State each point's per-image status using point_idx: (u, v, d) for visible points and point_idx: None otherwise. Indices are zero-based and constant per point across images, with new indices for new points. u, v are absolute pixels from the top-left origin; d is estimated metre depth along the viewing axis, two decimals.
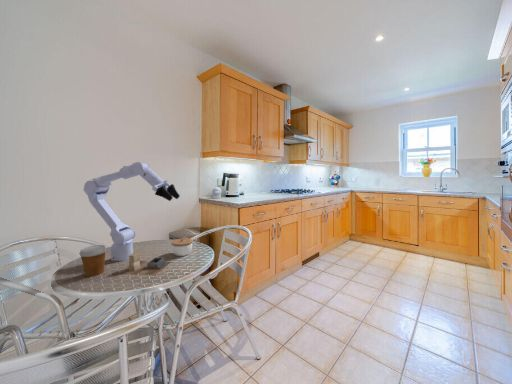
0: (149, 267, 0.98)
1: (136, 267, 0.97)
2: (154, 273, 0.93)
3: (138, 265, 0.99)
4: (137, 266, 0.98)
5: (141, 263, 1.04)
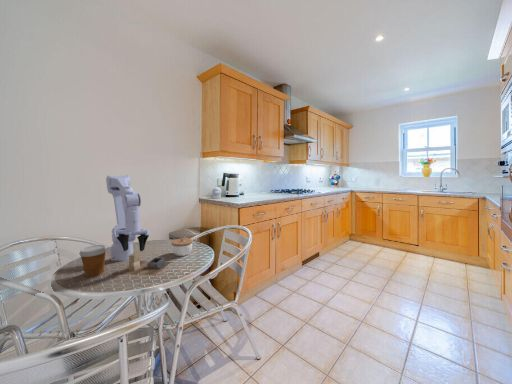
0: (149, 267, 0.98)
1: (136, 267, 0.97)
2: (154, 273, 0.93)
3: (138, 265, 0.99)
4: (137, 266, 0.98)
5: (141, 263, 1.04)
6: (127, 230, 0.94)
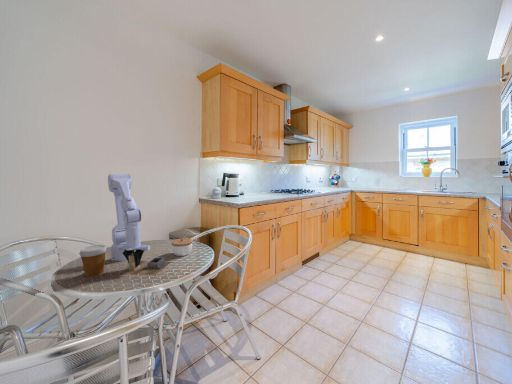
0: (149, 267, 0.98)
1: (136, 267, 0.97)
2: (154, 273, 0.93)
3: None
4: (137, 266, 0.98)
5: (141, 263, 1.04)
6: (128, 246, 0.95)
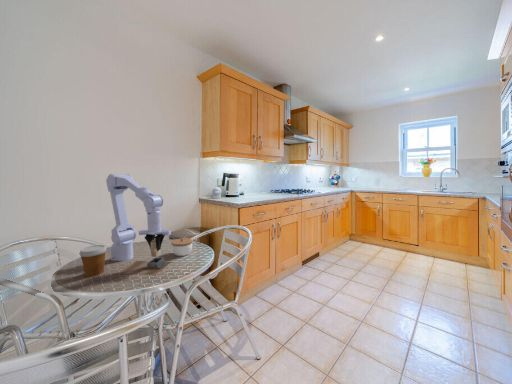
0: (149, 267, 0.98)
1: (157, 253, 1.01)
2: (154, 273, 0.93)
3: (159, 251, 1.02)
4: (158, 252, 1.01)
5: (141, 263, 1.04)
6: (150, 230, 0.97)
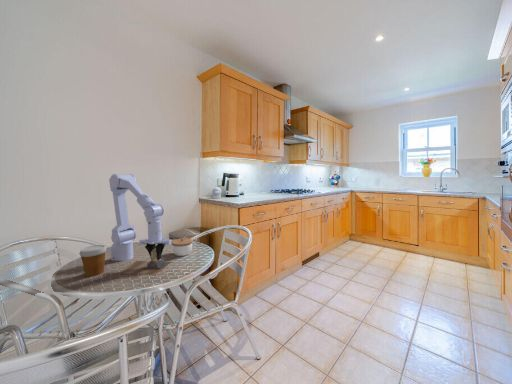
0: (149, 267, 0.98)
1: None
2: (154, 273, 0.93)
3: None
4: None
5: (141, 263, 1.04)
6: (150, 240, 0.98)
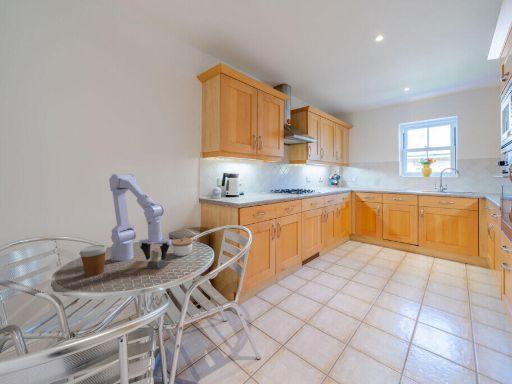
0: (149, 267, 0.98)
1: None
2: (154, 273, 0.93)
3: None
4: None
5: (141, 263, 1.04)
6: (150, 240, 0.98)
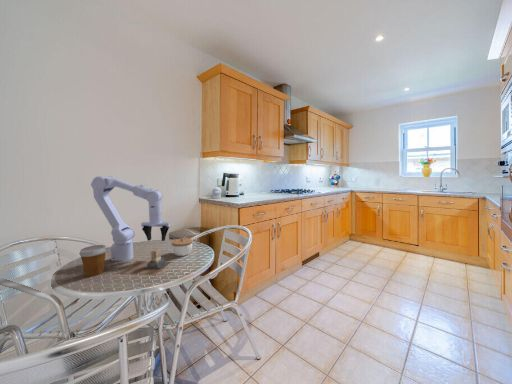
0: (149, 267, 0.98)
1: None
2: (154, 273, 0.93)
3: None
4: None
5: (141, 263, 1.04)
6: (151, 222, 1.08)
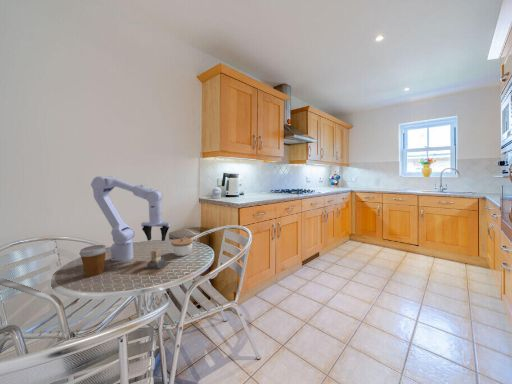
0: (149, 267, 0.98)
1: None
2: (154, 273, 0.93)
3: None
4: None
5: (141, 263, 1.04)
6: (151, 222, 1.08)
